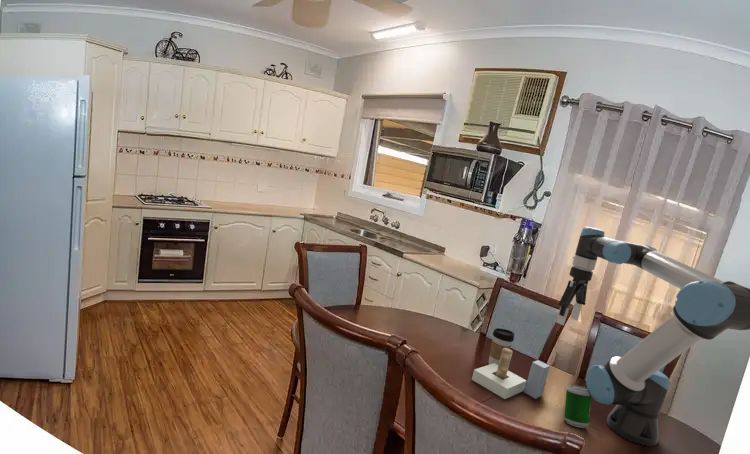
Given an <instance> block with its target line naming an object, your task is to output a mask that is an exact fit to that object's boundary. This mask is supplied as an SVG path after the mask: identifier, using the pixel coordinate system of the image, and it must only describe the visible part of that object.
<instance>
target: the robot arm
mask: <svg viewBox="0 0 750 454" xmlns="http://www.w3.org/2000/svg"><path fill="white" fill-rule="evenodd" d="M605 234H606V233H605V230H603V229H599V228H596V227H591V226H584V227H582V230H581V232H580V235H579V239H578V241H577V242H578V243H577V246H576V250H575V254H574V256H572V259H573V260H572V266H571V267H570V271H569V273H568V274H569V276H570V277H571V278H573V279H572V280H568V282H567V285H566V288H565V289H564V292H563V294H562V296H561V298H560V300H559V302H558V303H557V305H558V306H560V308H559V311H558V315H557V318H556V321H555V323H557V324H559V325H561V326H565V323H566V320H567V315H568V312H569V306H570V305H571V303H572V301H573V300H574V297H575V302H574V303H573V307H572V311H571V313H570V317H569V318H570V319H571V320H574V321H577V322H578V321H579V317H580V314H581V311H582V307H583V306H585V305H586V301H587V293H588V292H587V291H588V284H589V282H590V281H592V277H593V274H594V272H593V271H595V268H596V265H597V260H598V258H600V259H602V260H605V261H608V262H609V263H614V264H617V265H622V264H627V265H631V266H635V267H637V268H639V269H641V270H644V271H646V272H647V273H649V274H651V275H653V276H655V277H657V278H659V279H661V280H662V281H664V282H667V283H669V284H670V285H672V286H674V287H676V288H678V289H680V290H678V292H677V294H676V297H675V298H676V300H675V302H674V306H672V315H671V316H670V317H668V318H667V319H666V320H665V321H664V322H663V323H661V324H660V325H659V326H657V327H656V328H655V329H654V330H653V331H652V332H651V333H649V334H647V335H646V337H645V338H643V339H642V340H640V342H638V343H637V344H636V345H635V346H633V347H632V348H631V349H630V350H629V351H627V352H626V353H625V354H624V355H623V356H618V355H617V356H613V357H611V358H610V359H609V360H608V361H607V362H606V363H604V364H602V365H601V364H595V365H594V364H593V365H592V366H590V367H589V368H588V369H587V371H586V376H585V379H586V380H585V384H586V388H588V391H589V393H590V395H591V398H593V400H594V401H596V402H597V403H599V404H605V405H615V407H614V408H612V410H610V412H609V414H608V415H607V417H606V424H607V426H608V427H609V428H610V429H611V430H612V431H613V432H614V433H616V434H617V435H619V436H620V437H621V438H623V439H625V438H626V440H627V439H629V440H631V441H630V442H632V441H633V442H632V443H634V442H636V443H635V444H637V443H639V444H638V445H640V444H642V445H641V446H644V445H646V446H645V447H654V446H653V445H655V446H657V444H658V441H659V439H660V438H659V437H660V435H659V434H660V433H659V421H658V419H659V416H660V413H661V411H662V408H663V405H664V403H665V400H666V399H665V398H666V396H667V393H668V391H669V386H670V381H671V380H670V379H669V377H668V376H667V375H665V373H663V372H662V371H660V370H662V369H663V368H664V367H665V366H667V365H668V364H670V363H671V362H672V361H673V360H675V359H676V358H677V357H679V356H680V355H682V354H683V353H684V352H685V351H687V350H688V349H690V348H691V347H693V346H694V345H695V344H696V343H698V342H700V341H701V340H706V341H711V340H714V339H715V338H716V337H717V336H719V335H720V334H722V333H723V332H724V331H726V330H728V329H729V330H735V331H736V330H737V331H749V330H750V288H749V287H747V286H746V287H745V286H744V285H740V284H738V283H737V282H734V281H731V280H728V281H727V280H726V281H723V280H720V279H719V278H716V277H714V276H712V275H709V274H708V273H706V272H703V271H701V270H699V269H696V268H694V267H692V266H690V265H688V264H686V263H684V262H681V261H679V260H677V259H676V258H675V259H674V258H672V257H670V256H668V255H666V254H663V253H661V252H659V251H658V249H656V248H655V247H652V246H650V245H647V244H639V243H633V242H629V241H624V240H618V239H614V238H613V239H612V238H610V237H605ZM629 440H628V441H629Z"/></svg>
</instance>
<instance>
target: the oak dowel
mask: <svg viewBox="0 0 750 454" xmlns="http://www.w3.org/2000/svg"><path fill="white" fill-rule="evenodd" d="M513 352H514V351H513V350H512V349H511V348H510V349H507V348H503V350H502V353H501V357H500V361H499V365H498V368H497V372H496V376H497V377H499V378H501V379H502V380H504V379H506V375H507V371H509V367H510V363H511V359H512V356H513Z"/></svg>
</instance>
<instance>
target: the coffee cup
mask: <svg viewBox="0 0 750 454" xmlns="http://www.w3.org/2000/svg"><path fill="white" fill-rule="evenodd" d="M492 335H493V336H492V340H491V345H490V351H489V359H488V365H489V364H492V363H495V364H497V365H499V361H500V357H501V353H502V350H503V348H507V349H510V350H511V346H512V343H513V342H514V340H515V332H513V331H511V329H510V330H509V329H506V328H502V327H501V328H494V329H493V332H492Z"/></svg>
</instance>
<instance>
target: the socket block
mask: <svg viewBox="0 0 750 454" xmlns="http://www.w3.org/2000/svg"><path fill="white" fill-rule="evenodd" d="M497 368H498V365H497V364H495V363H492V364H489V363H488V365H487V364H486V365H485V366H482V367H478V368H475V369H473V373H472V377H471V380H472V381H473V382H475V383H476V384H478V385H480V386H482V387H483V388H486V389H487V390H488V391H490V392H492V393H493V394H496V395H497V396H499V397H500V398H502V399H504V400H506V399H509V398H511V397H513V396H515V395H518V394H520V393H521V392H524V391H525V387H526V383H527V380H528V379H527V380H526V379H524V378H523V377H521V376H519V375H517V374H516V373H513V372H512V371H510V370H508V371H507V375H506V379H504V380H502V379H501V378H499V377H497V376H496V372H497Z"/></svg>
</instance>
